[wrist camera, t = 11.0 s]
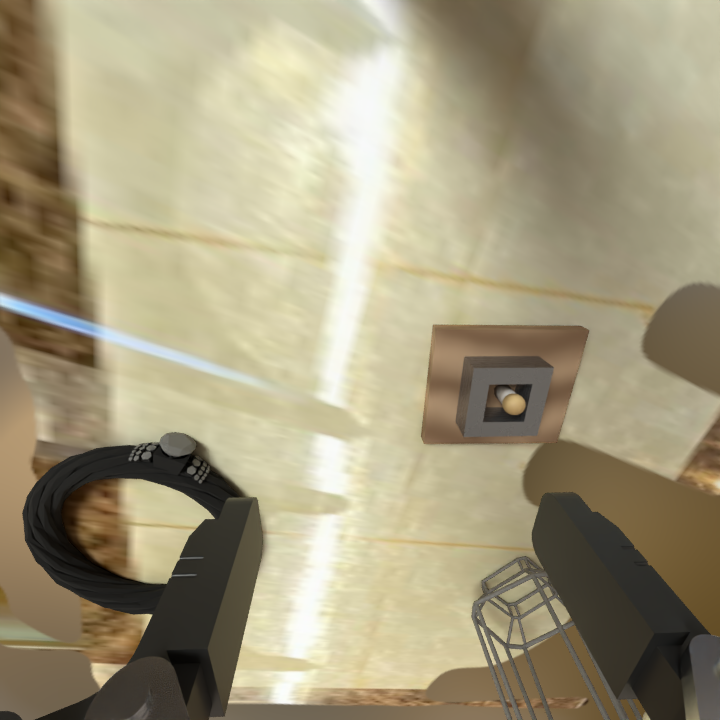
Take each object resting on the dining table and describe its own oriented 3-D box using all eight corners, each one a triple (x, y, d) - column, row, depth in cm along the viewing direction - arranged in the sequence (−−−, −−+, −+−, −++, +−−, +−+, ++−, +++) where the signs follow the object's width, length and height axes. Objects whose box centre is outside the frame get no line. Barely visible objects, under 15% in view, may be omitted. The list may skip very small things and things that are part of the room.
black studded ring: (1, 591, 45) (31, 404, 35) (25, 563, 49) (59, 387, 39) (214, 640, 51) (292, 492, 41) (222, 612, 54) (296, 469, 44)
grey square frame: (464, 356, 37) (473, 368, 34) (538, 356, 38) (554, 367, 35) (455, 421, 40) (463, 437, 38) (524, 420, 41) (537, 435, 38)
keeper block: (433, 324, 37) (447, 343, 32) (580, 326, 38) (617, 344, 33) (421, 436, 43) (431, 467, 38) (550, 435, 44) (578, 465, 38)
